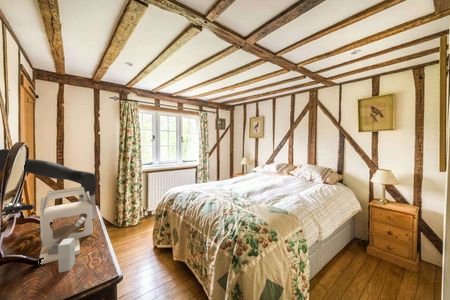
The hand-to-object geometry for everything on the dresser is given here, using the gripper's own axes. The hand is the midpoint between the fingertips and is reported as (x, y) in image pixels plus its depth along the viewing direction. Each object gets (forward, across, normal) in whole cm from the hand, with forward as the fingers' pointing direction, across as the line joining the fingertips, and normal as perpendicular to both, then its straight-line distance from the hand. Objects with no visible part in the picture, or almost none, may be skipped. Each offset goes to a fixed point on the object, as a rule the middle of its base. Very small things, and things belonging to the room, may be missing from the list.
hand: (33, 206), depth 95 cm
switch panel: (+10, -1, +24) cm, 26 cm away
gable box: (+7, +17, +24) cm, 30 cm away
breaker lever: (+10, -1, +18) cm, 21 cm away
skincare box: (+18, -16, +24) cm, 34 cm away
